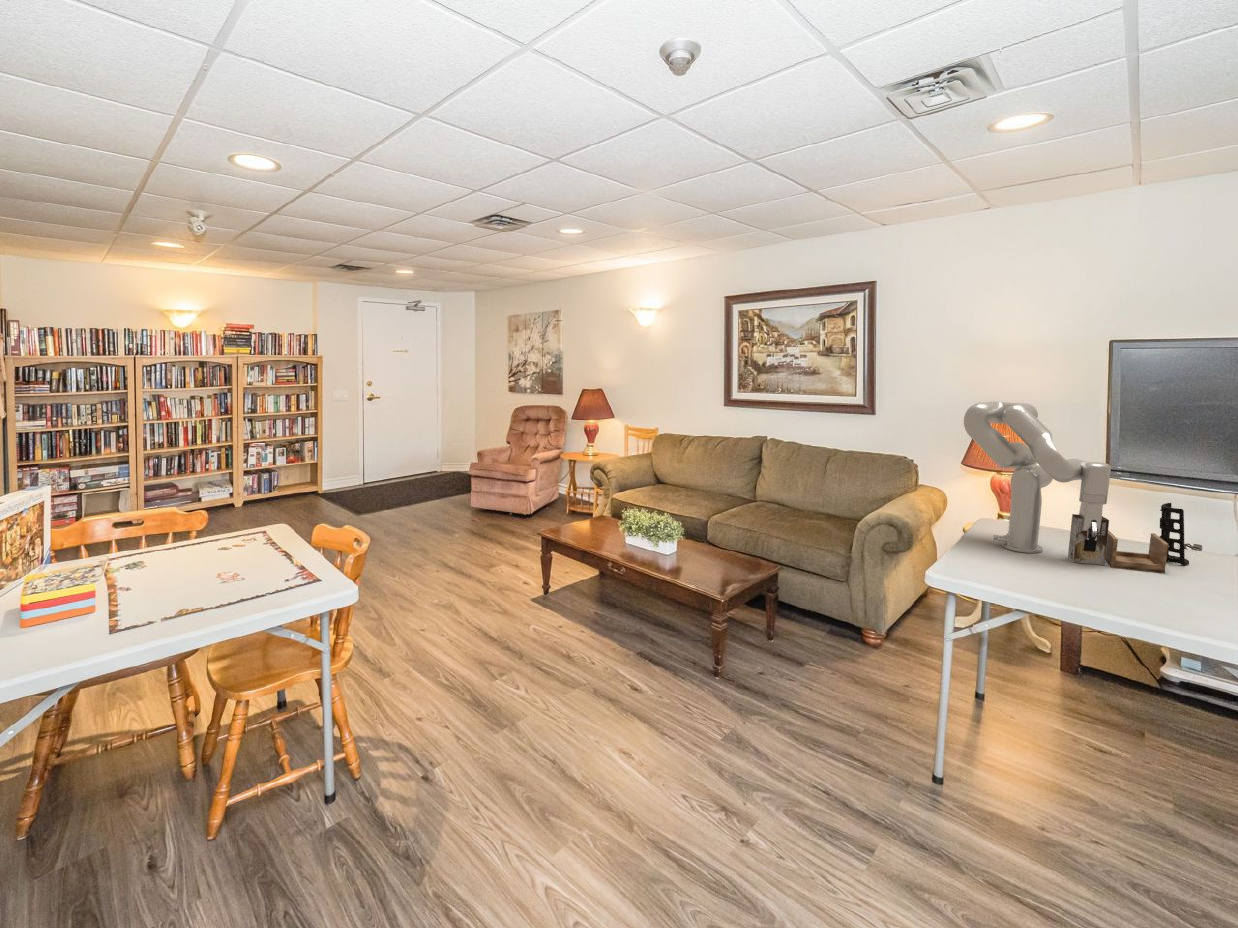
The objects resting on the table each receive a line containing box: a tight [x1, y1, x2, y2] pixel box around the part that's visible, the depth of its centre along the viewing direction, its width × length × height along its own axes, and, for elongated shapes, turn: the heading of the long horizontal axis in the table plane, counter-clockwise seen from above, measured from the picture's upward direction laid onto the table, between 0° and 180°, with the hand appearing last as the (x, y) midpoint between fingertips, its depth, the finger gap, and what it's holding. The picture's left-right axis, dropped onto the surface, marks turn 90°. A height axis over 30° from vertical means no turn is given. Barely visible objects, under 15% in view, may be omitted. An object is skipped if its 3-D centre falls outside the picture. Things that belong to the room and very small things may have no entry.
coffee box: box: [1067, 513, 1110, 566], centre depth 210 cm, size 9×6×16 cm
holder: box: [1159, 502, 1190, 567], centre depth 209 cm, size 11×8×20 cm
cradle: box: [1105, 529, 1168, 574], centre depth 207 cm, size 14×14×10 cm
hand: (1087, 547), depth 210 cm, fingers closed on coffee box, 6 cm apart
